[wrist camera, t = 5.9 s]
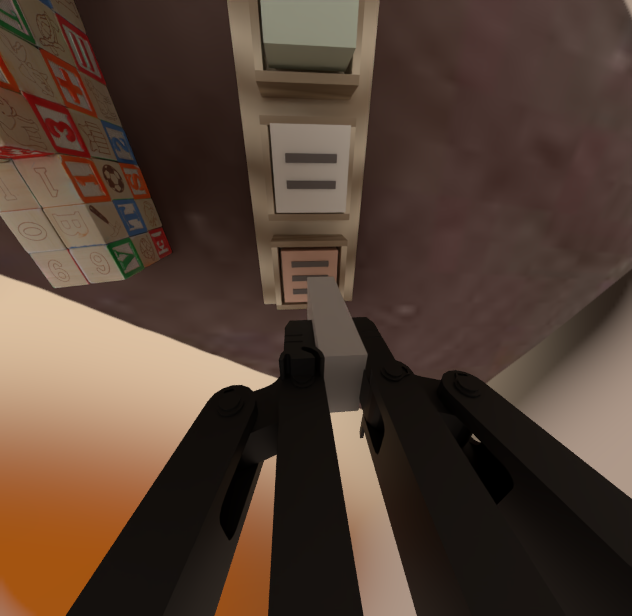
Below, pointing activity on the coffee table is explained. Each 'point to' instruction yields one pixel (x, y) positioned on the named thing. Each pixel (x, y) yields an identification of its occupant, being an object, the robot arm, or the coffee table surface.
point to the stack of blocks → (68, 154)
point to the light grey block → (309, 33)
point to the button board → (301, 108)
